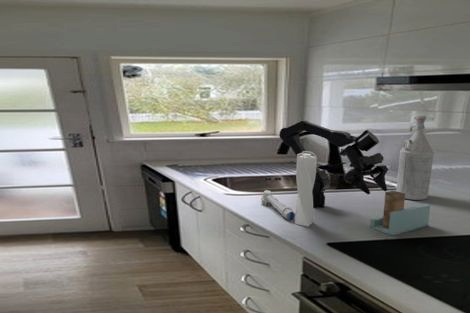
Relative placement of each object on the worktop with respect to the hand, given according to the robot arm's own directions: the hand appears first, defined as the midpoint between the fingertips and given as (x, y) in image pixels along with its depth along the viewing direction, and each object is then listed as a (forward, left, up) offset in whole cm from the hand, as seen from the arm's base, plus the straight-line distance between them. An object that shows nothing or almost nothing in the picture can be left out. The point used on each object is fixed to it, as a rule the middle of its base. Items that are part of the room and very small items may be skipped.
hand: (377, 192), depth 122 cm
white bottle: (+30, +38, -12) cm, 50 cm away
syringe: (-37, +12, -13) cm, 40 cm away
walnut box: (+4, -6, -11) cm, 13 cm away
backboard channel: (+8, -3, -12) cm, 14 cm away
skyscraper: (-27, -2, -12) cm, 30 cm away
